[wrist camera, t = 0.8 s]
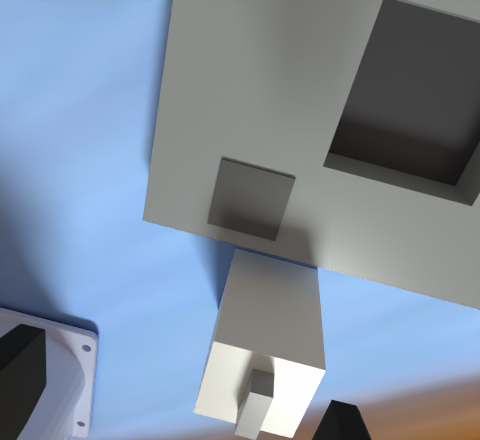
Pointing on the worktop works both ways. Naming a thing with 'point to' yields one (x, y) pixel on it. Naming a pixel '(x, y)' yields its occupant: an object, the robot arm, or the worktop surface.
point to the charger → (264, 347)
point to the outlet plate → (327, 136)
